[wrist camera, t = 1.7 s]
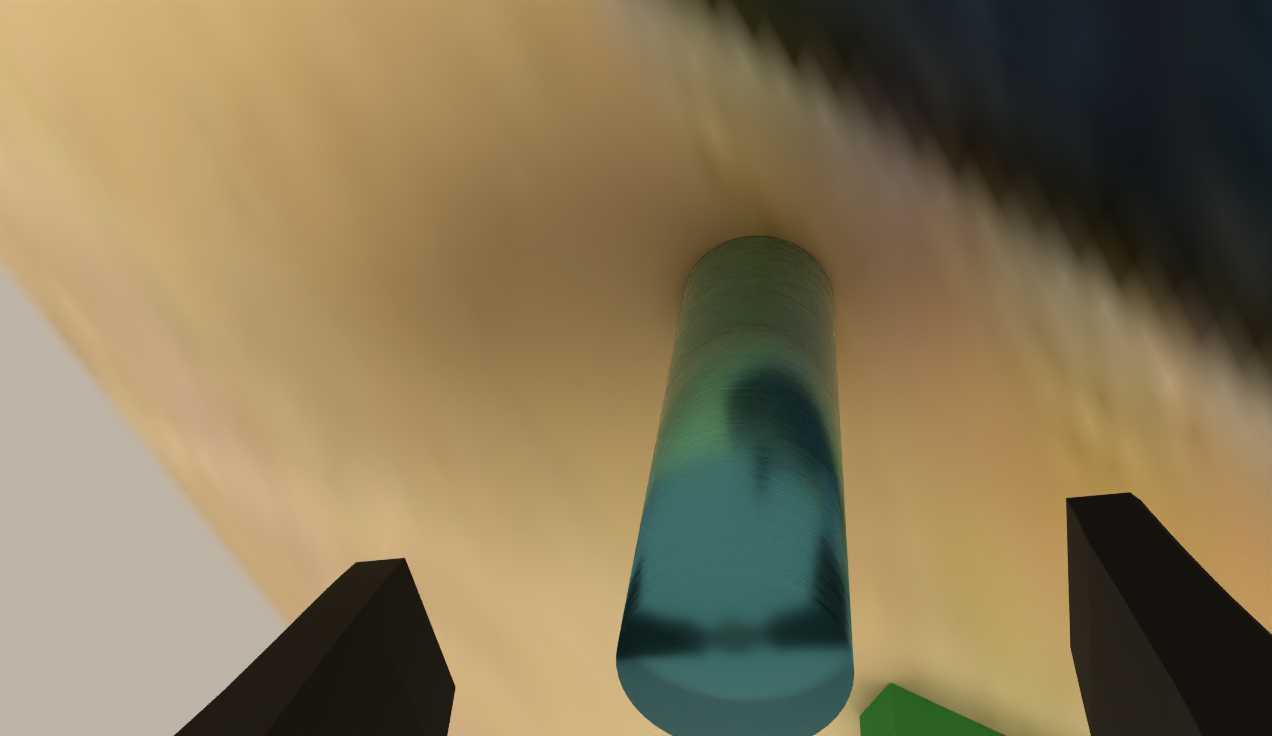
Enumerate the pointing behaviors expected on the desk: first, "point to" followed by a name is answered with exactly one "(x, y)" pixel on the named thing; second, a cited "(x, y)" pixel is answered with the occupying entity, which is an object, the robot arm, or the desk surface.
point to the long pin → (744, 510)
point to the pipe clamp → (915, 717)
